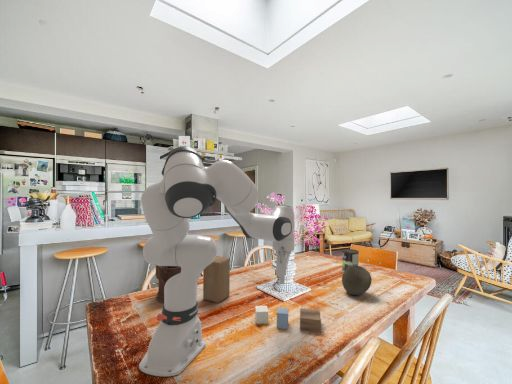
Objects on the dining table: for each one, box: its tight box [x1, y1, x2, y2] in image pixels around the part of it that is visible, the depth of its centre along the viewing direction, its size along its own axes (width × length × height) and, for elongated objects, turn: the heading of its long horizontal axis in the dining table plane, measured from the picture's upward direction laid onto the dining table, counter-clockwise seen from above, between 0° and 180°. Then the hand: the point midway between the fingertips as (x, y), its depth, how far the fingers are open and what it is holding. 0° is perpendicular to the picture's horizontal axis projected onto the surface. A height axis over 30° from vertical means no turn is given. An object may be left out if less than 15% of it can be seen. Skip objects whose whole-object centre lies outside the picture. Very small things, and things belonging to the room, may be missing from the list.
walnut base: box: [299, 307, 322, 333], centre depth 98 cm, size 8×8×5 cm
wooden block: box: [202, 255, 231, 304], centre depth 122 cm, size 10×10×20 cm
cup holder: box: [155, 265, 181, 305], centre depth 122 cm, size 18×24×25 cm
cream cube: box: [254, 305, 269, 325], centre depth 102 cm, size 5×5×5 cm
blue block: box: [276, 307, 289, 330], centre depth 98 cm, size 4×4×6 cm
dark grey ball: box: [341, 264, 372, 296], centre depth 128 cm, size 14×14×15 cm
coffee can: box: [341, 248, 360, 273], centre depth 163 cm, size 10×10×14 cm
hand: (283, 278), depth 98 cm, fingers open, 8 cm apart
